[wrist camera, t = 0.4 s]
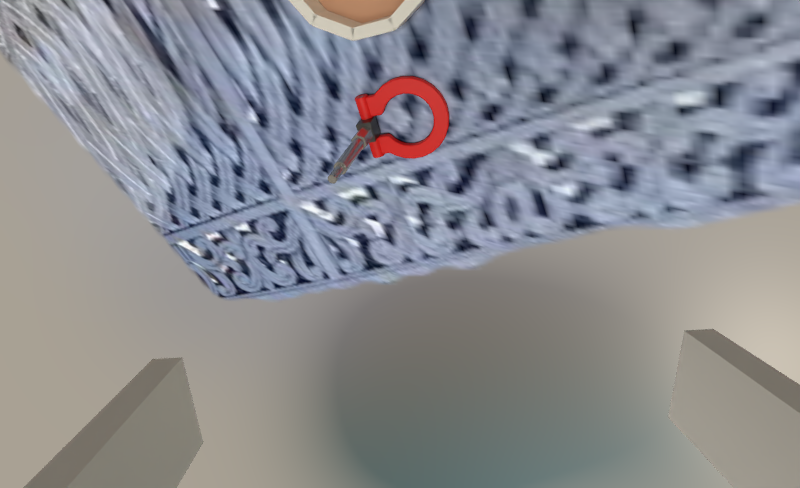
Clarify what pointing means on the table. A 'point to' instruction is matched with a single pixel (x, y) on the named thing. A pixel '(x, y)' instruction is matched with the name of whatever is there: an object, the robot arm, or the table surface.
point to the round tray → (357, 15)
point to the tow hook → (386, 142)
